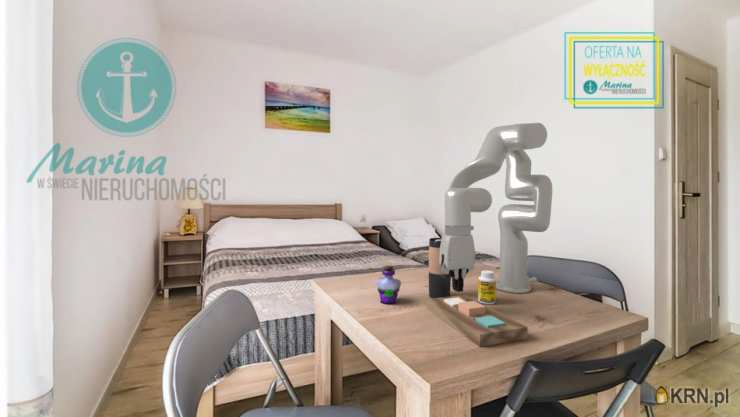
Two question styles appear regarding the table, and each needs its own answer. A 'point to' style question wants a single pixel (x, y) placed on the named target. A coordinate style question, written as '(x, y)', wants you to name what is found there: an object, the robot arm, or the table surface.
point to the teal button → (489, 321)
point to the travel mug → (437, 272)
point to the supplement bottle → (487, 287)
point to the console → (475, 329)
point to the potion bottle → (388, 286)
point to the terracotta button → (471, 308)
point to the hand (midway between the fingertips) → (457, 290)
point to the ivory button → (453, 301)
